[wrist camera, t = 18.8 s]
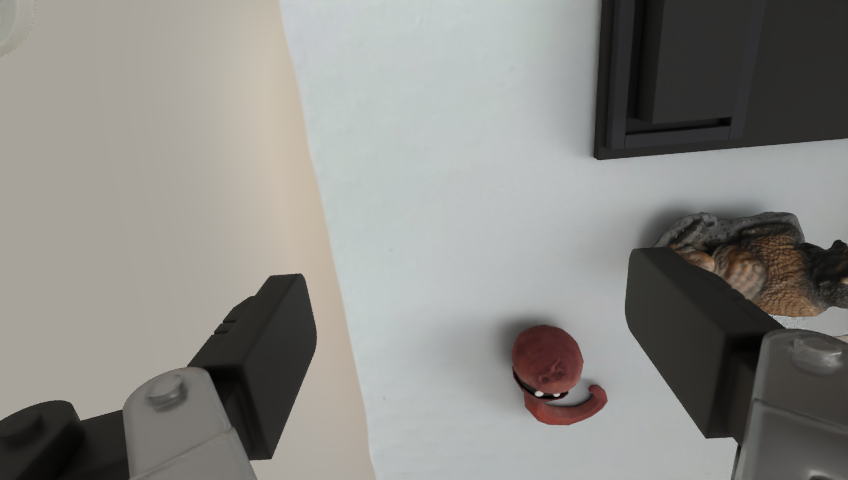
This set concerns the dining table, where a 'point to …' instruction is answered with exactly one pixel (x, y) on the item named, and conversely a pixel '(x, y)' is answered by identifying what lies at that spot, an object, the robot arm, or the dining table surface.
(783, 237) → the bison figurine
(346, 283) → the dining table surface
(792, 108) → the dock pad
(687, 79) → the strip pad
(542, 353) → the hook toy
